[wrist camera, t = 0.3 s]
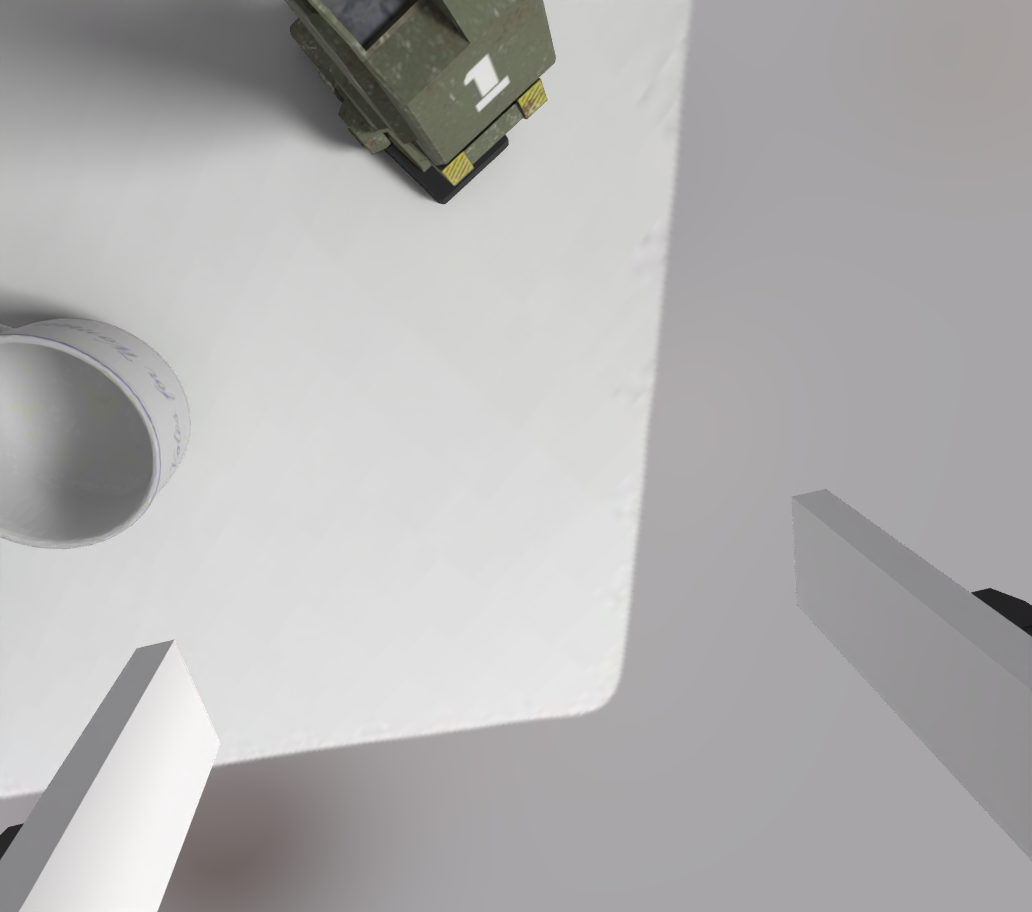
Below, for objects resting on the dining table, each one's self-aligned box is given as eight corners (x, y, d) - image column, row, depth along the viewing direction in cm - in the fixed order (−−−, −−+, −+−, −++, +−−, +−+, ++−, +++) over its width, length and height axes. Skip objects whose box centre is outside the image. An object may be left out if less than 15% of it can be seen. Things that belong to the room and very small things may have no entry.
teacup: (245, 438, 41) (205, 490, 34) (89, 522, 42) (16, 591, 34) (88, 217, 36) (1, 220, 29) (-86, 315, 37) (-216, 343, 29)
